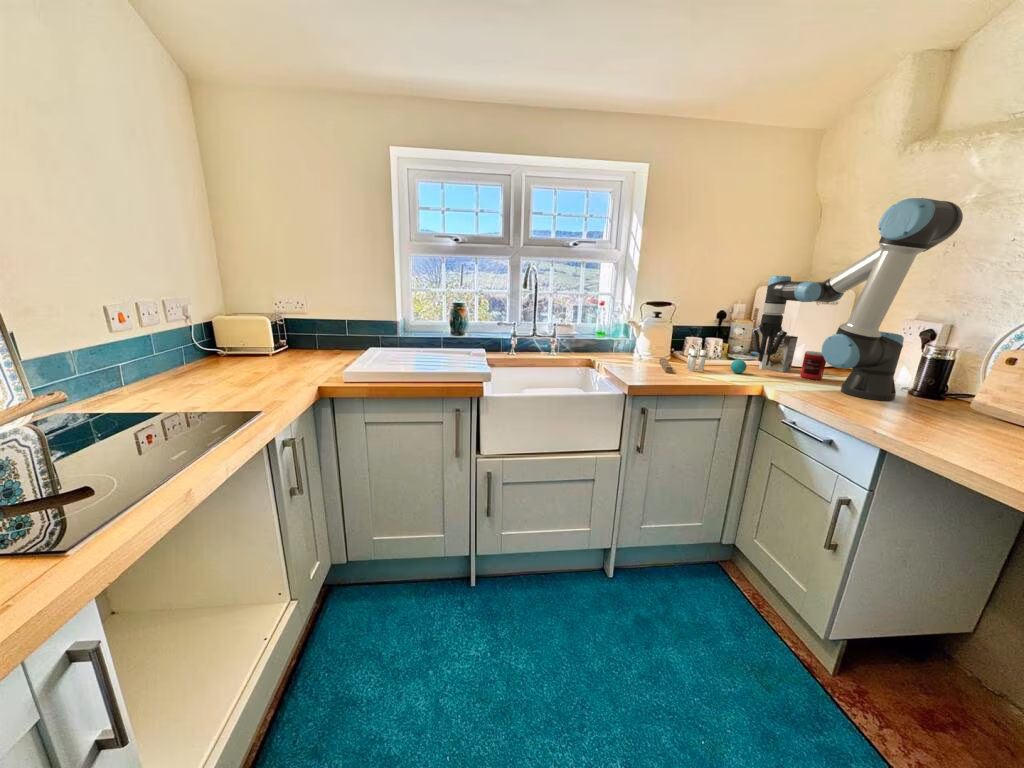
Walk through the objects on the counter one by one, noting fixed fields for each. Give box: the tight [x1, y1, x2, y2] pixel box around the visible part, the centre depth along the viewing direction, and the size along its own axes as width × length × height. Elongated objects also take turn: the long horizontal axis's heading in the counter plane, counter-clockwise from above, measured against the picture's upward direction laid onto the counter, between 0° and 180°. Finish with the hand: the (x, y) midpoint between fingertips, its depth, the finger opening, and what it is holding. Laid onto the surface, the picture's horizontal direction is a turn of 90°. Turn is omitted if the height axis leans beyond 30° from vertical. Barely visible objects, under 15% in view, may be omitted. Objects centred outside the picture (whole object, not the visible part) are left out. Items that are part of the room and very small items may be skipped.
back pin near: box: [688, 349, 699, 372], centre depth 179 cm, size 2×2×9 cm
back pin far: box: [686, 347, 696, 370], centre depth 184 cm, size 2×2×9 cm
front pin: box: [697, 349, 708, 371], centre depth 180 cm, size 2×2×9 cm
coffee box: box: [765, 333, 799, 373], centre depth 187 cm, size 9×6×16 cm
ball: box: [730, 359, 747, 374], centre depth 178 cm, size 6×6×6 cm
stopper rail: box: [658, 357, 673, 374], centre depth 184 cm, size 22×2×2 cm, turn 168°
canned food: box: [799, 350, 827, 381], centre depth 172 cm, size 8×8×11 cm
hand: (761, 369), depth 176 cm, fingers closed
